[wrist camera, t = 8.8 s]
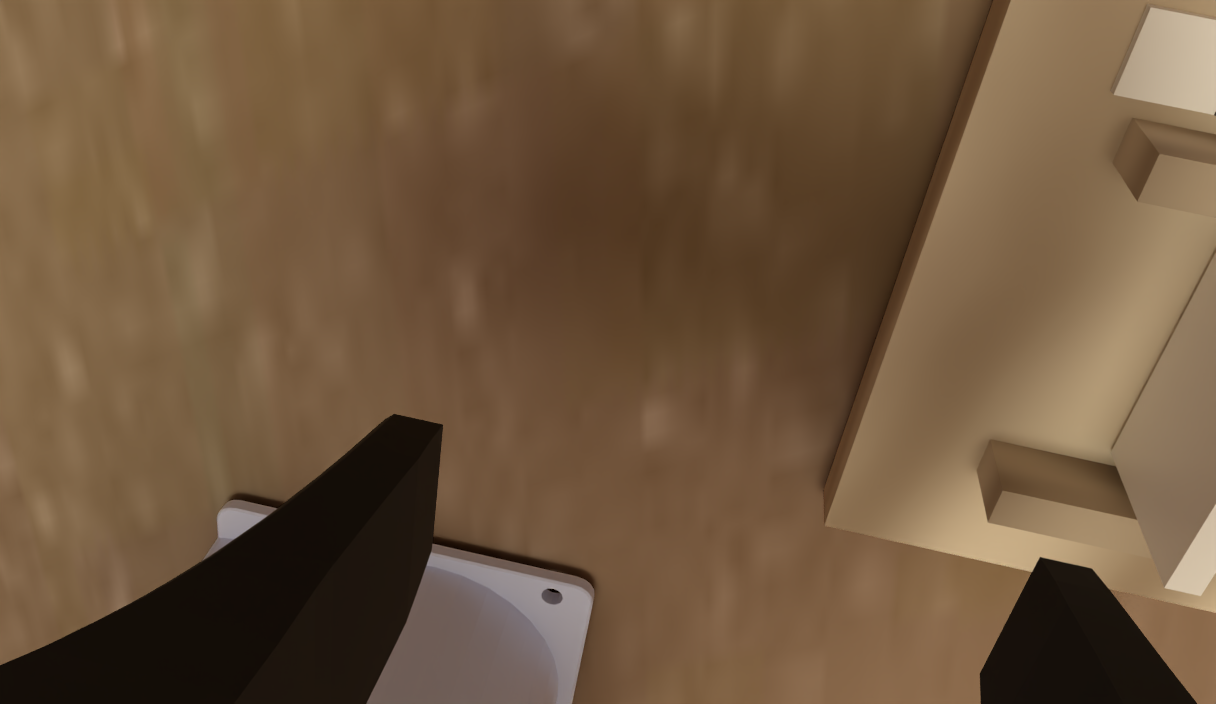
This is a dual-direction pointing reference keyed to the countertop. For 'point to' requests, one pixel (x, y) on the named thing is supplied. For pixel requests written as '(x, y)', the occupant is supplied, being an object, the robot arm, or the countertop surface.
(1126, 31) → the linear slide rail
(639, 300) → the countertop surface
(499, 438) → the countertop surface
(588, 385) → the countertop surface
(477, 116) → the countertop surface
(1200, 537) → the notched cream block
